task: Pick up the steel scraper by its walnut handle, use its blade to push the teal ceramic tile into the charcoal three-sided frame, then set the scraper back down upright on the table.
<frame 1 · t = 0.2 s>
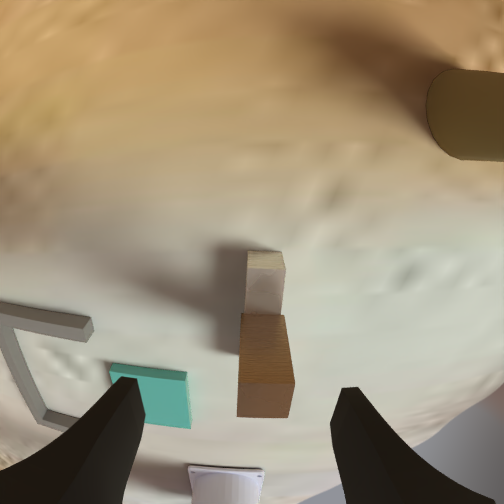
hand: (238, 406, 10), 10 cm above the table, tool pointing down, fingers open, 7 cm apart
scraper: (260, 308, 21), on the table
tile: (155, 390, 24), on the table
frame: (65, 378, 24), on the table
cork: (461, 114, 16), on the table
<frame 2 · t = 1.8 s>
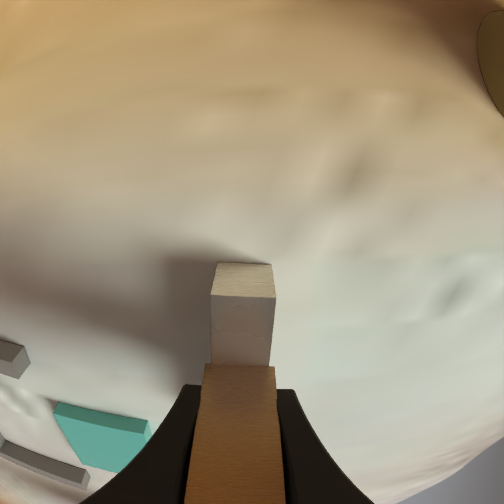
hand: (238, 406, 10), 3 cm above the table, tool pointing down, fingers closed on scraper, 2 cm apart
scraper: (240, 348, 14), on the table, touching gripper
tile: (114, 434, 17), on the table
frame: (13, 411, 17), on the table
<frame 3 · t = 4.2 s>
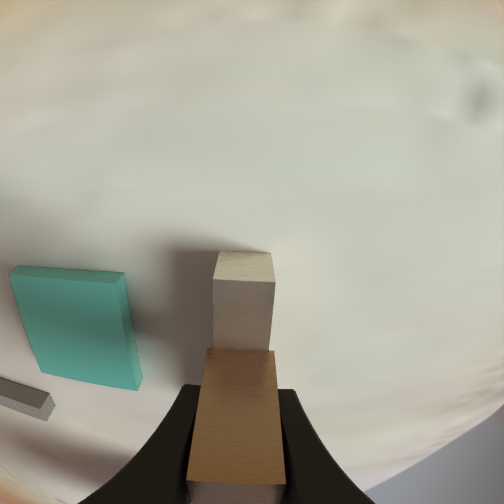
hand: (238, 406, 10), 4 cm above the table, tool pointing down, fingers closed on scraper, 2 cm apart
scraper: (241, 335, 14), on the table, touching gripper
tile: (82, 319, 15), on the table
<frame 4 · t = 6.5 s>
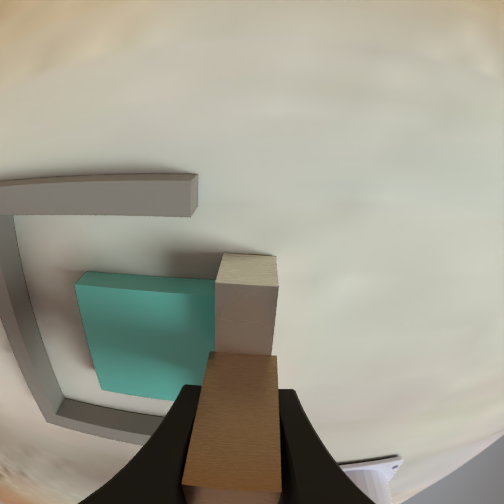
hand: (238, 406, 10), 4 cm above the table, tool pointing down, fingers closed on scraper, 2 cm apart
scraper: (245, 339, 14), on the table, touching gripper, tile
tile: (157, 332, 14), on the table, touching scraper
frame: (107, 330, 14), on the table
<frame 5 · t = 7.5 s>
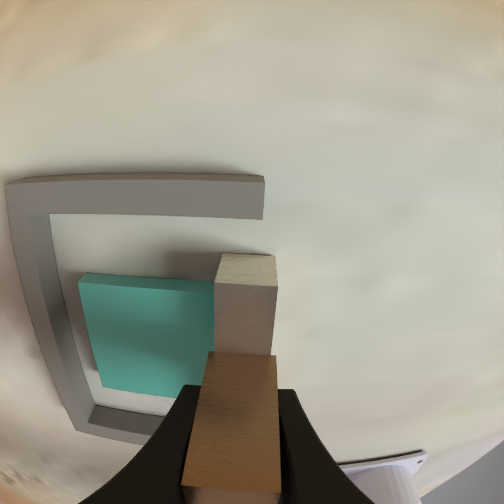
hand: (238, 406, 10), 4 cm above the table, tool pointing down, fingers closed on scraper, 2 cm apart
scraper: (244, 338, 14), on the table, touching gripper
tile: (158, 329, 15), on the table
frame: (152, 334, 14), on the table
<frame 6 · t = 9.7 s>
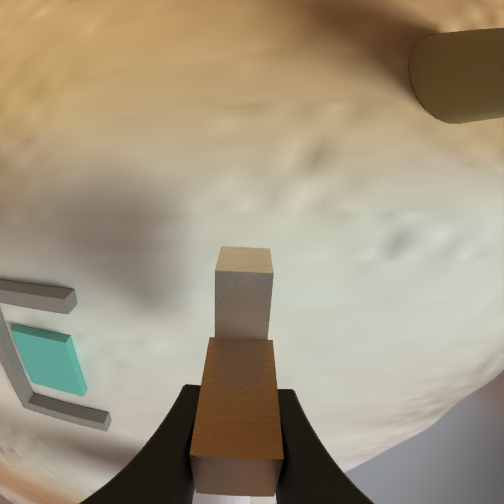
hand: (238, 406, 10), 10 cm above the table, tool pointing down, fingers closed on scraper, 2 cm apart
scraper: (241, 328, 15), point 6 cm above the table, touching gripper
tile: (53, 354, 24), on the table
frame: (50, 357, 23), on the table
cork: (446, 78, 15), on the table
when the fingers open (4 cm above the table, at t = 11.3 s): scraper stays where it is, on the table.
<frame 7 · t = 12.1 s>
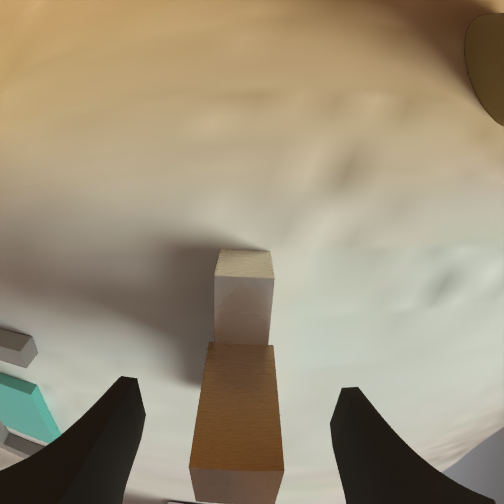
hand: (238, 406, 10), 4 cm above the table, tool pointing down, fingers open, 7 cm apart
scraper: (241, 331, 15), on the table
tile: (23, 399, 18), on the table
frame: (19, 402, 18), on the table
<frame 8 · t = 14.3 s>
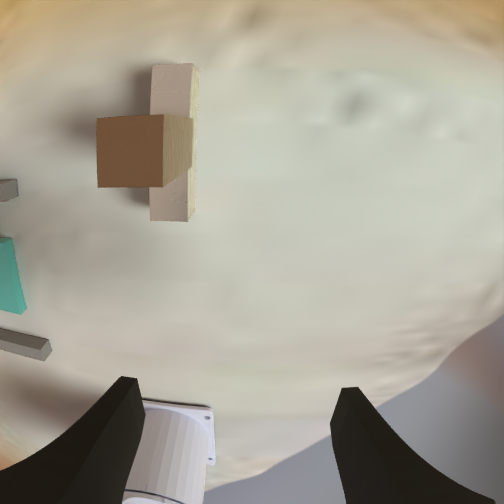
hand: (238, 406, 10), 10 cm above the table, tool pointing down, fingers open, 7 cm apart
scraper: (179, 140, 17), on the table
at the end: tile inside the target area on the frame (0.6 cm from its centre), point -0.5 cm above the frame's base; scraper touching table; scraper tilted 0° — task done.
